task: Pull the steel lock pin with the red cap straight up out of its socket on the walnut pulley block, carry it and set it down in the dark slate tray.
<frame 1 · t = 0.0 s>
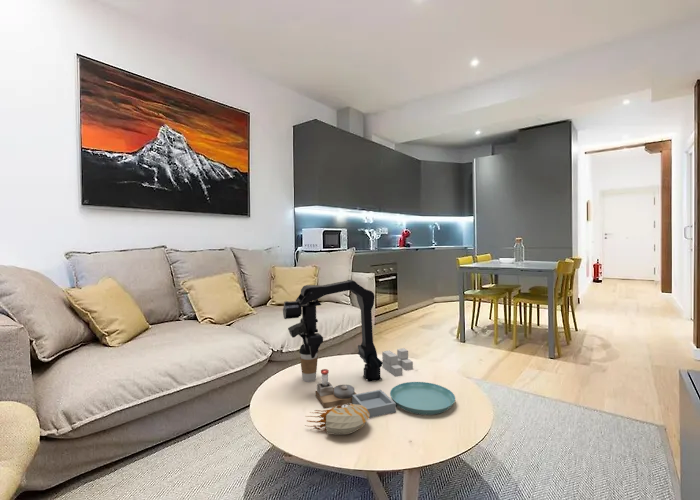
hand: (309, 354, 148), 15 cm above the table, tool pointing down, fingers open, 9 cm apart
tray: (373, 407, 133), on the table
puzzle cube: (399, 370, 169), on the table
nautilus: (337, 429, 119), on the table
pulley block: (336, 398, 140), on the table
teal round plate: (422, 403, 137), on the table
lock pin: (324, 392, 141), point 2 cm above the table, touching pulley block
coffee cup: (309, 379, 159), on the table
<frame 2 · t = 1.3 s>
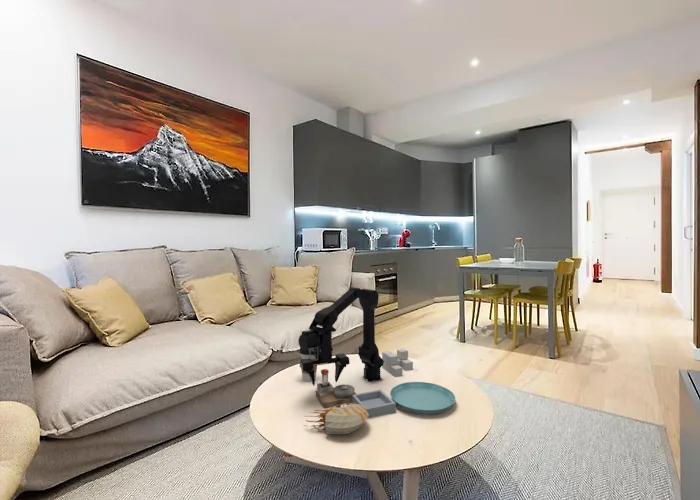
hand: (324, 383, 141), 6 cm above the table, tool pointing down, fingers open, 9 cm apart
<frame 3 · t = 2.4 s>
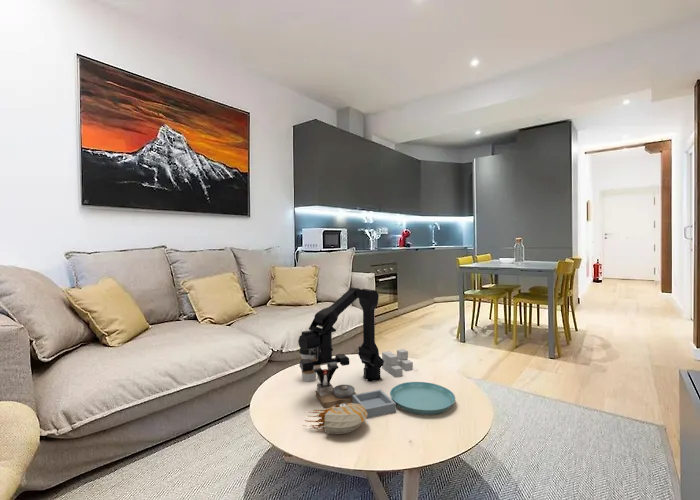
hand: (324, 383, 141), 6 cm above the table, tool pointing down, fingers closed on lock pin, 2 cm apart
lock pin: (324, 392, 141), point 2 cm above the table, touching gripper, pulley block
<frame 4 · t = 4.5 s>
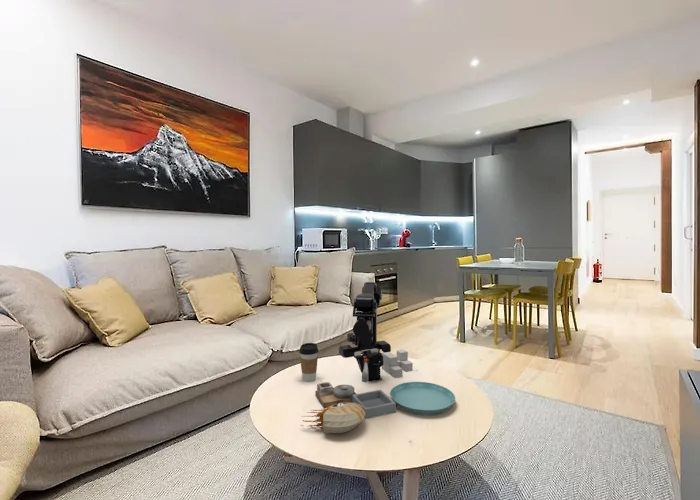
hand: (365, 371, 133), 13 cm above the table, tool pointing down, fingers closed on lock pin, 2 cm apart
lock pin: (365, 381, 133), point 10 cm above the table, touching gripper
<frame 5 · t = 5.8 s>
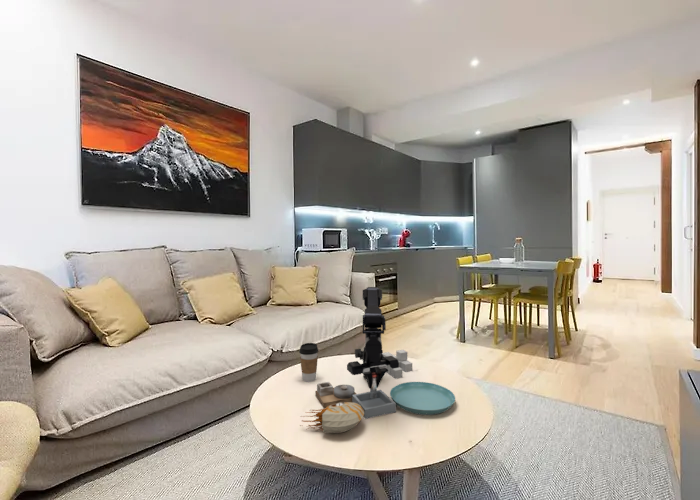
hand: (373, 387, 132), 7 cm above the table, tool pointing down, fingers closed on lock pin, 2 cm apart
lock pin: (373, 397, 132), point 4 cm above the table, touching gripper
when the fingers open (5 cm above the table, at t = 6.8 s): lock pin drops 1 cm, resting on tray.
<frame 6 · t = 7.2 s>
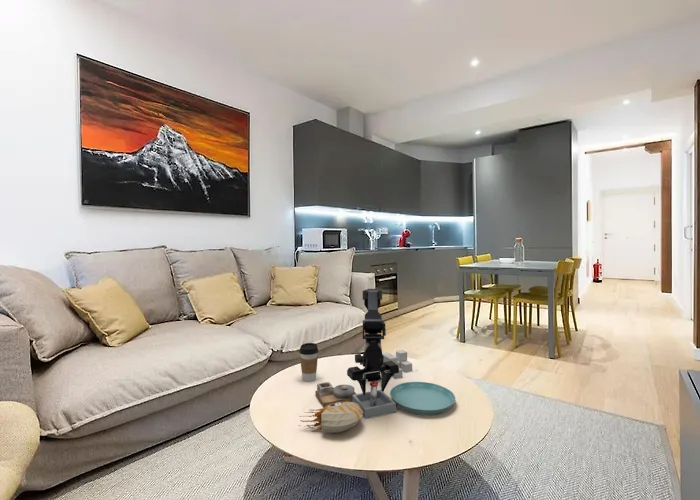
hand: (373, 393, 132), 5 cm above the table, tool pointing down, fingers open, 7 cm apart
lock pin: (373, 405, 133), point 1 cm above the table, touching tray
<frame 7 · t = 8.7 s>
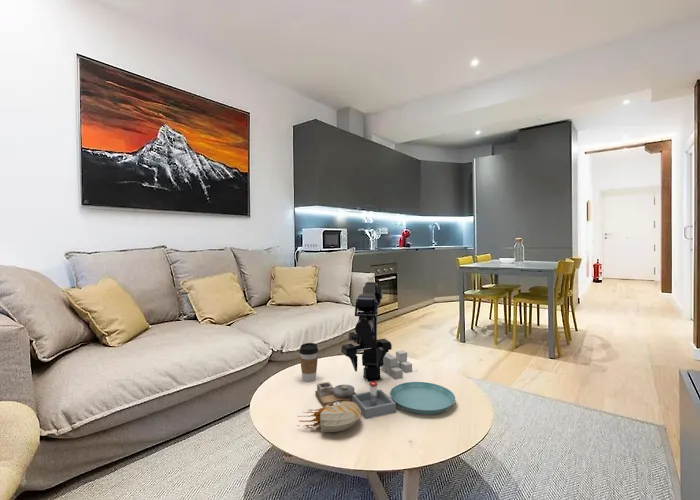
hand: (366, 369, 137), 13 cm above the table, tool pointing down, fingers open, 9 cm apart
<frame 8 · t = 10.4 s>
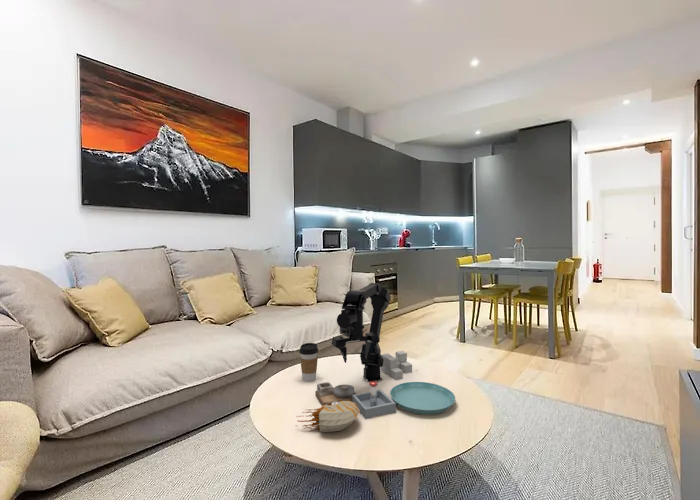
hand: (356, 360, 145), 13 cm above the table, tool pointing down, fingers open, 9 cm apart
at the end: lock pin inside the target area on the tray (0.0 cm from its centre), point 0.8 cm above the tray's base; the gripper is holding nothing; lock pin moved 20.2 cm from its start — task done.
